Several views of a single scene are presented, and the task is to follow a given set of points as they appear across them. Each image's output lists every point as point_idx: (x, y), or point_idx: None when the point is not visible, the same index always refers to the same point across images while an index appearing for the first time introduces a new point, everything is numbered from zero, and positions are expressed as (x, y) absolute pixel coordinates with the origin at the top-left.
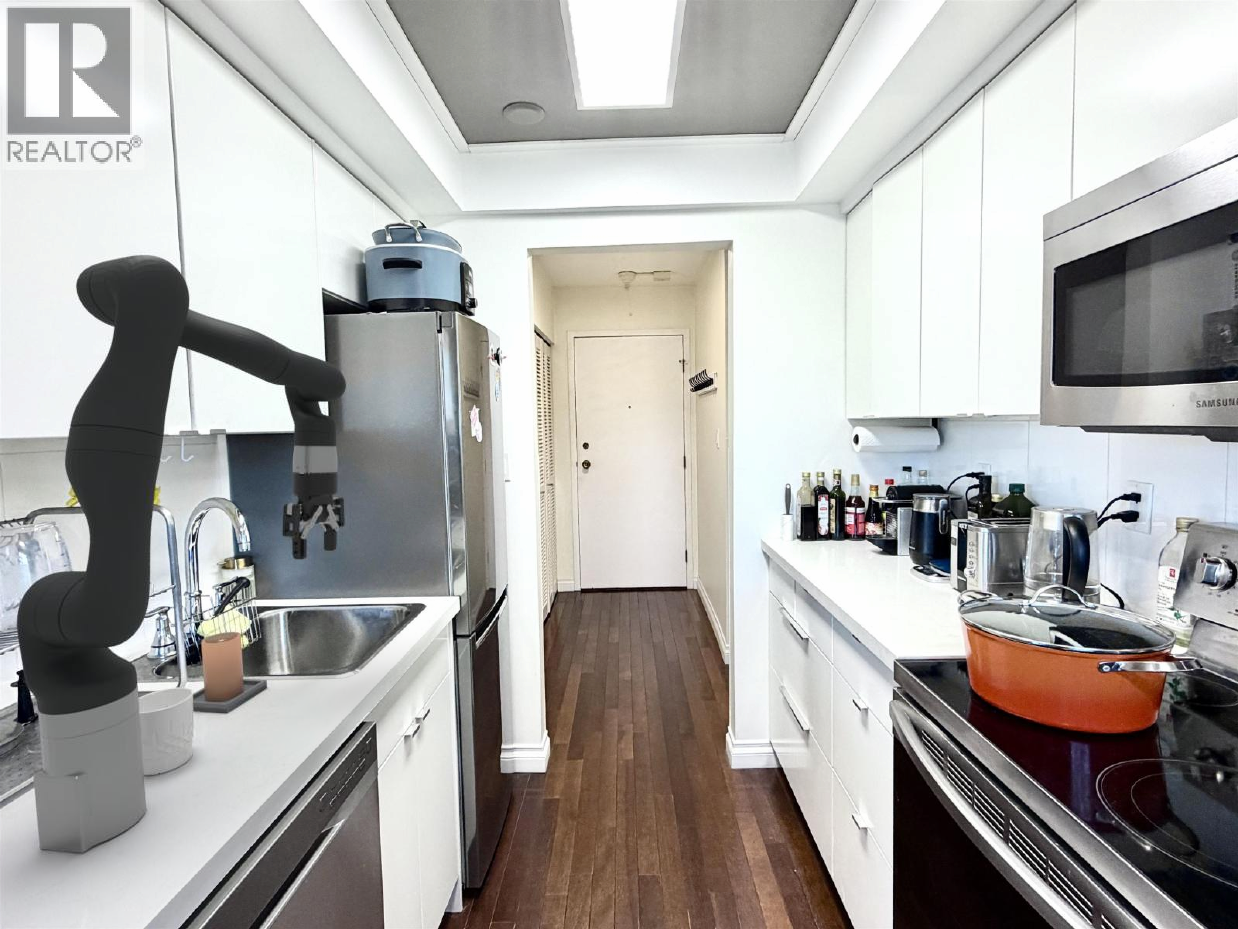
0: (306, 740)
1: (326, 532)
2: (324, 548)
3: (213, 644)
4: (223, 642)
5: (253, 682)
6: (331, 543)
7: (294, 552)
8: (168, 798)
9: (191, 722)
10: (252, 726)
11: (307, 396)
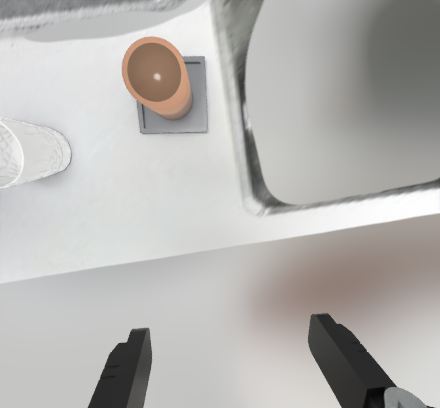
0: (119, 255)
1: (362, 397)
2: (316, 317)
3: (125, 84)
4: (136, 98)
5: (202, 114)
6: (323, 363)
7: (110, 367)
8: (11, 205)
9: (35, 179)
10: (127, 185)
11: None
